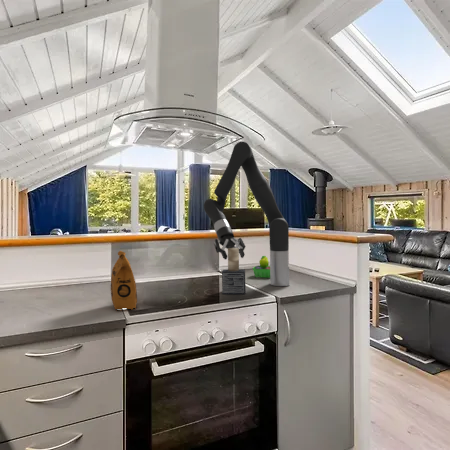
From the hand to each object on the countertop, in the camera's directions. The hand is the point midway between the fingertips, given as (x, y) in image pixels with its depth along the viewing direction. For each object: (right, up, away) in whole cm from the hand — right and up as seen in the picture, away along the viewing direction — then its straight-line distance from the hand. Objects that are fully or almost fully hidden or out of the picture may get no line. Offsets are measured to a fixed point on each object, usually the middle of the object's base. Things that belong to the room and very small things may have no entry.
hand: (234, 257), depth 145 cm
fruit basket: (+18, -14, +36) cm, 42 cm away
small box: (0, -17, +2) cm, 17 cm away
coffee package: (-45, -18, -16) cm, 51 cm away
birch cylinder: (0, -6, +1) cm, 6 cm away
